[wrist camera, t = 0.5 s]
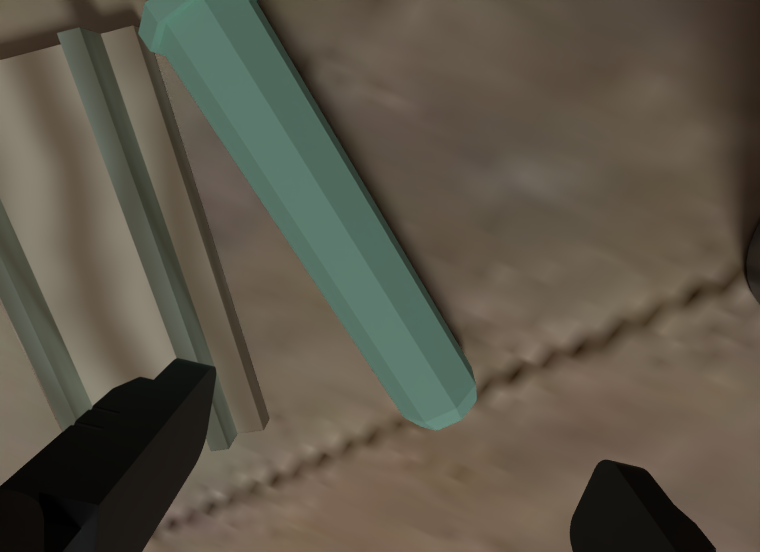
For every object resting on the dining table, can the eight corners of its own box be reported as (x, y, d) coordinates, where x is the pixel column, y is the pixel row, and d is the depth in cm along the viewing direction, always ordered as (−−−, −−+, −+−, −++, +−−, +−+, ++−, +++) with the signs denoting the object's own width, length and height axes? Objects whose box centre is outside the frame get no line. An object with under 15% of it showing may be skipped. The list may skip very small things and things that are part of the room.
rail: (147, 30, 23) (113, 17, 21) (269, 419, 30) (255, 445, 28) (-79, 88, 25) (-136, 84, 23) (84, 442, 32) (56, 469, 29)
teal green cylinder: (485, 445, 23) (182, -49, 16) (393, 454, 26) (113, 46, 20) (504, 370, 27) (274, -36, 21) (425, 386, 31) (205, 39, 24)
